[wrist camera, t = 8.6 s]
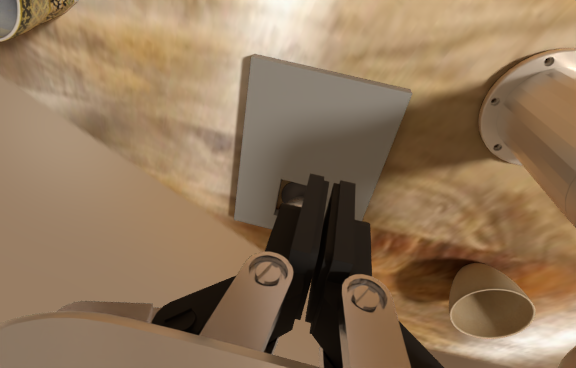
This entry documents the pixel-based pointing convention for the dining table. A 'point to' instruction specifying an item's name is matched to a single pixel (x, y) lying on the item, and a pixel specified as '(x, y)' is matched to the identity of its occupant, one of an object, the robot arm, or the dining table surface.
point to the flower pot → (488, 303)
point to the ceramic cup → (28, 14)
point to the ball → (296, 201)
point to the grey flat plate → (312, 135)
